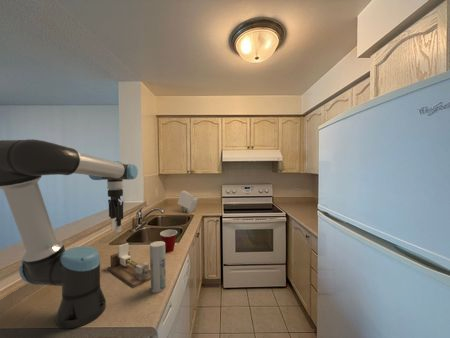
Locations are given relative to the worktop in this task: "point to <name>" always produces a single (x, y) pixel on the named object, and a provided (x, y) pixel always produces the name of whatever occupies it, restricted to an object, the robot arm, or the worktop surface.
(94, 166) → the robot arm
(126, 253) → the white l-shaped block
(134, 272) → the board
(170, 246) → the plastic cup
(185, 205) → the tissue box
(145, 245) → the worktop surface
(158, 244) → the spray can
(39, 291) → the worktop surface
